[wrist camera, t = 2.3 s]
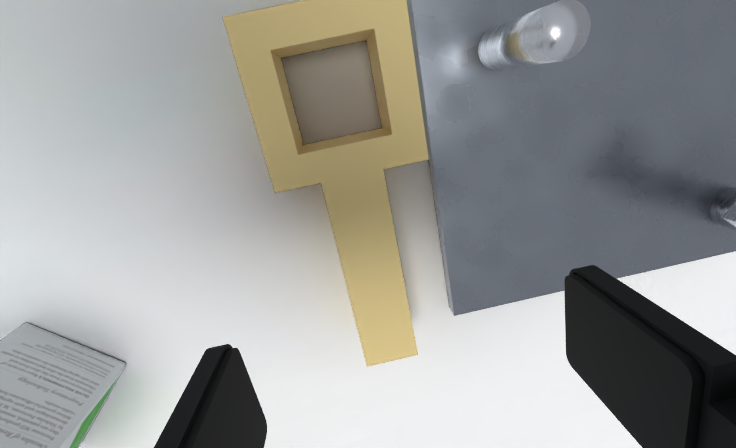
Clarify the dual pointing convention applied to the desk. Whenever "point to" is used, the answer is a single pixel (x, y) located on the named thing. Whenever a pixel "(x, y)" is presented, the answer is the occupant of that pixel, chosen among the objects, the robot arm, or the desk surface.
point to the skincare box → (50, 389)
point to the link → (343, 145)
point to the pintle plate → (575, 138)
